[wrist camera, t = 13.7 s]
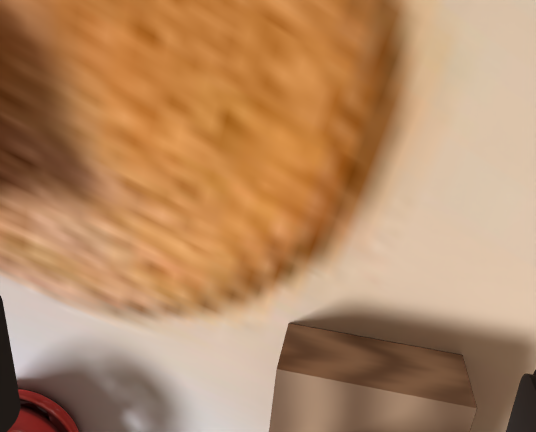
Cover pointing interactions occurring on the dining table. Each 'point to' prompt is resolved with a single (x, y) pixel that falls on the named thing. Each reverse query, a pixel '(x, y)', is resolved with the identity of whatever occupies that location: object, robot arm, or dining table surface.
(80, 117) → the dining table surface
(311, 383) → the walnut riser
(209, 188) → the dining table surface
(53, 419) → the plant pot
